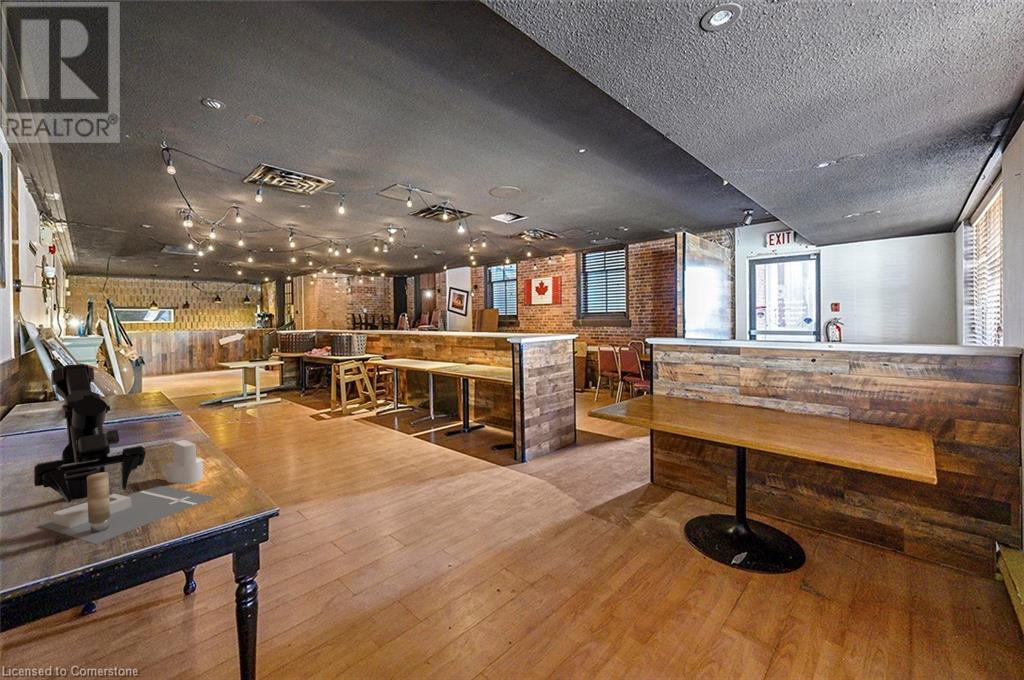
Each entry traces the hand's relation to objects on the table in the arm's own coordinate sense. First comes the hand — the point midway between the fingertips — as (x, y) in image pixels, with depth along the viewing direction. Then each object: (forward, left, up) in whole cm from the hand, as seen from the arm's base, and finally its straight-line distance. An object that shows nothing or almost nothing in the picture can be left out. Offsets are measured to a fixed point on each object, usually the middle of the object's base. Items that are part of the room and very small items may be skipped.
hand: (98, 495), depth 97 cm
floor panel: (-4, +9, -9) cm, 13 cm away
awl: (+1, 0, -8) cm, 8 cm away
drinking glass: (-16, +29, -9) cm, 34 cm away
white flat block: (-10, +4, -8) cm, 14 cm away
